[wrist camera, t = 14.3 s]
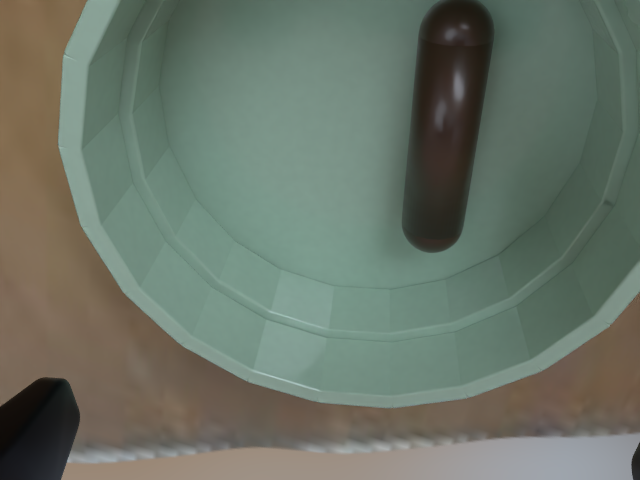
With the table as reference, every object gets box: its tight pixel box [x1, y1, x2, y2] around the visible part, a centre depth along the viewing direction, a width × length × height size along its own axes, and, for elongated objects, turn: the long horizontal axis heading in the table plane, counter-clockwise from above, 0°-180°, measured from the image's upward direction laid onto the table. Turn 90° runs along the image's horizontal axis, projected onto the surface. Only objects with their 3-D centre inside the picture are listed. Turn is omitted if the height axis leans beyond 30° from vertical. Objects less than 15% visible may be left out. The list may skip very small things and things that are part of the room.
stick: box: [402, 0, 495, 253], centre depth 17 cm, size 2×8×2 cm
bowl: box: [58, 0, 640, 408], centre depth 17 cm, size 15×15×6 cm
